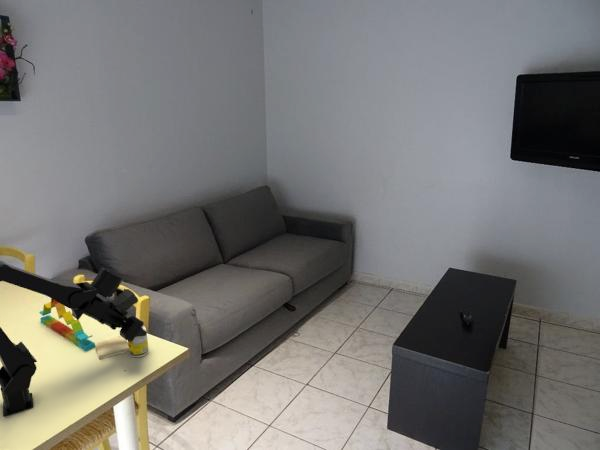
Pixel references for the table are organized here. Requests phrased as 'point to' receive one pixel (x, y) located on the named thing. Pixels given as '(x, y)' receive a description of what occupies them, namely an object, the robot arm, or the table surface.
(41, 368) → the table surface
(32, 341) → the table surface
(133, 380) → the table surface
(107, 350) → the wooden pad
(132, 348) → the supplement bottle
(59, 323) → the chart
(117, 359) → the table surface
